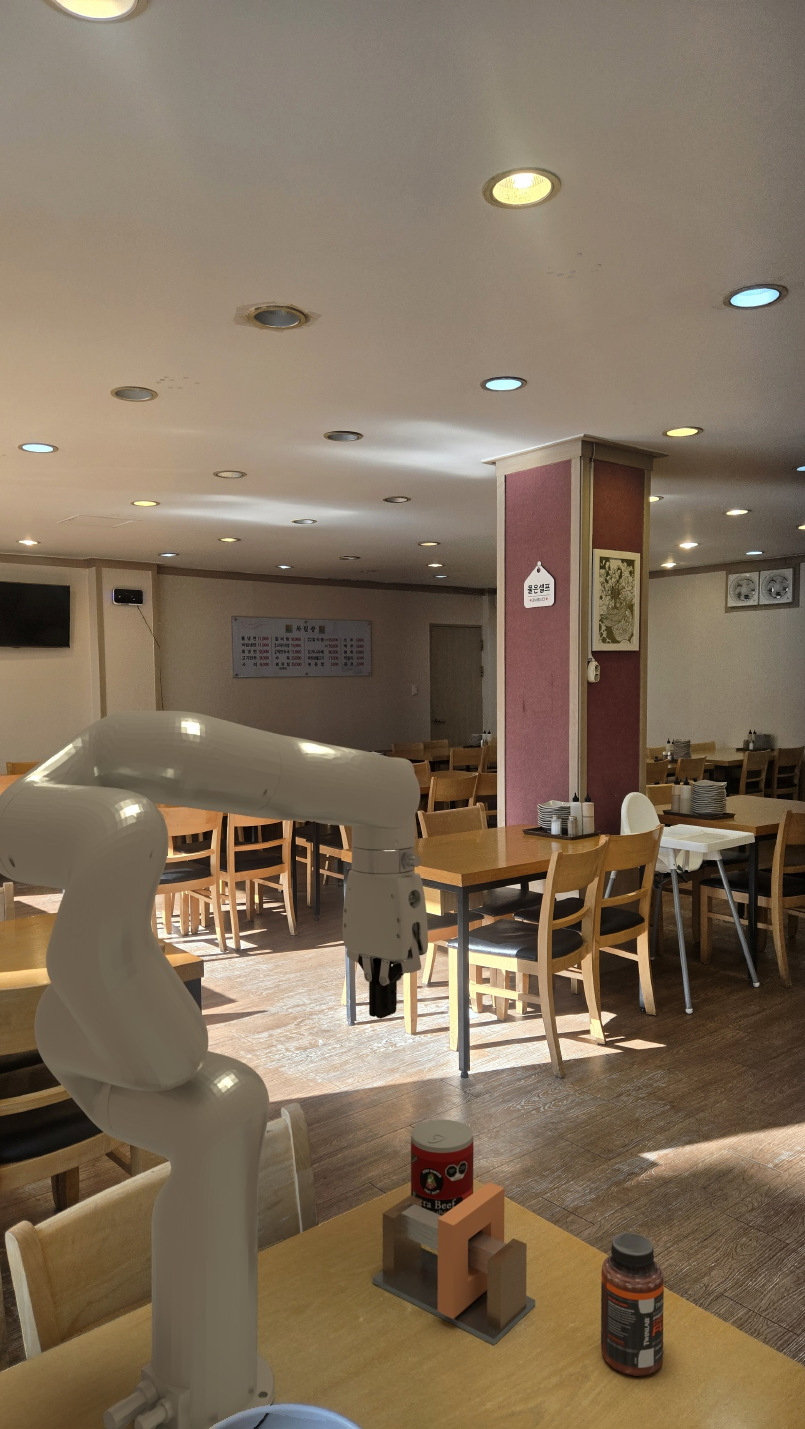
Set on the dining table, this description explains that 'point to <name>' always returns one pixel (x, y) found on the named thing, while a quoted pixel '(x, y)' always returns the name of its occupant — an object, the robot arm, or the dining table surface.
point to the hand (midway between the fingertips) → (382, 1014)
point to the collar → (466, 1247)
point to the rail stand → (417, 1271)
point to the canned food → (441, 1164)
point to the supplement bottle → (632, 1306)
